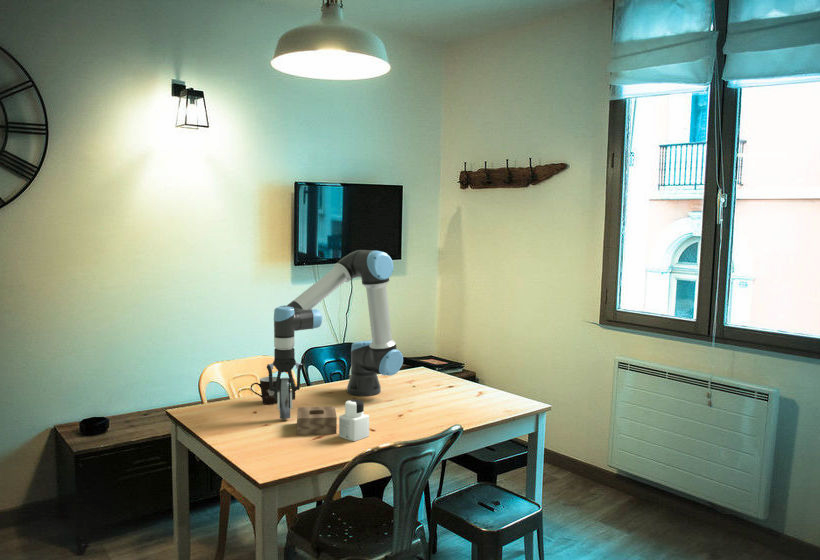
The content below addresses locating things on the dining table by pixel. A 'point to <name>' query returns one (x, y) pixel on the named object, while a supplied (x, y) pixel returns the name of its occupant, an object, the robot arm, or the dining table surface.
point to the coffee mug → (266, 391)
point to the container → (354, 421)
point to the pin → (284, 398)
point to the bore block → (316, 420)
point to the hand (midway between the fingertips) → (285, 408)
